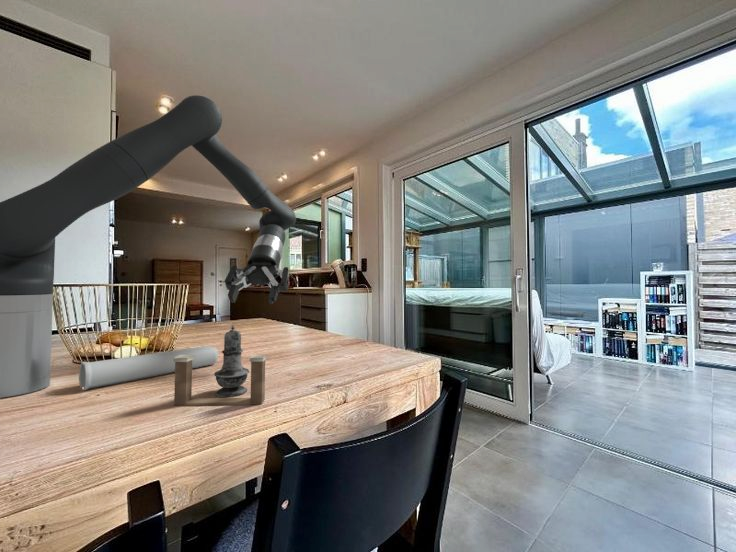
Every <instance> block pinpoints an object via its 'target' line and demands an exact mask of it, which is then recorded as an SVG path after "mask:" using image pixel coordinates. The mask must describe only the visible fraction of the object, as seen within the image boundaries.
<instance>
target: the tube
mask: <svg viewBox="0 0 736 552" xmlns="http://www.w3.org/2000/svg"><path fill="white" fill-rule="evenodd" d="M219 354H220V352H219V351H218V350H217V348H216V347H215V346H211V345H204V346H198V347H190V348H189V347H188V348H181V349H177V350H169V351H161V352H153V353H146V354H139V355H133V356H125V357H120V358H119V357H118V358H111V359H105V360H104V359H103V360H97V361H89V362H87V361H82V362H81V363H80V366H79V368H78V369H79V370H78V384H79V389H80V388H82V387H84V389H83V390H85V391H88V390H92V389H91V388H93V389H98V388H103V387H107V386H112V385H118V384H122V383H128V382H132V381H138V380H142V379H143V380H144V379H148V378H154V377H159V376H163V374H164V375H168V374H173V372H174V373H175V362H173V358H175V357H177V356H179V355H194V359H192V370H194V368H195V369H198V368H199V367H200V368H204V367H203V366H205V367H209V366H208V365H210V366H214V365H215V364H216V363H217V362H218V358H219V356H220V355H219ZM200 368H199V369H200ZM158 375H159V376H158ZM153 376H154V377H153ZM102 386H103V387H102ZM97 387H98V388H97ZM83 390H82V391H83Z"/></svg>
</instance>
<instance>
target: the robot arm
mask: <svg viewBox="0 0 736 552" xmlns="http://www.w3.org/2000/svg"><path fill="white" fill-rule="evenodd" d="M222 123H223V116H222V112H221V109H220V108H219V106H218V105H217V103H216V102H215V101H213V100H212V99H211V98H208V97H206V96H203V95H189V96H186V97H185V98H184V99H182V100H181V101H180V102H179V103H178V104H177V105H176V106H175V107H174V108H172V109H171V110H169V111H168V112H166V113H165V114H163V115H162V116H161V117H159V118H157V119H155V120H154V121H152V122H150V123H147V124H144V125H142V126H141V127H137V128H135V129H133V130H131V131H129V132H126V133H124V134H123V135H120V136H119V137H117V138H115V139H113V140H111V141H109V142H107V143H105V144H104V145H101V146H100V147H98V148H96V149H94V150H93V151H91V152H90V153H88V154H87V155H85V156H83V157H82V158H81V159H78V160H77V161H75V162H74V163H73V164H71V165H69V166H68V167H66V168H65V169H64V170H62V171H61V172H60V173H58V174H57V175H56V176H54V177H52V178H51V179H48V180H47V181H45V182H42V183H41V184H38V185H37V186H34V187H32V188H30V189H28V190H26V191H23V192H21V193H19V194H17V195H15V196H12V197H10V198H8V199H5V200H3V201H0V399H1V398H8V397H14V396H15V397H16V396H20V395H24V394H28V393H29V394H30V393H33V392H36V391H39V390H43V389H45V388H47V387H49V386H50V384H51V367H52V362H51V361H52V336H53V335H52V333H53V303H54V302H53V300H54V299H53V297H54V296H53V295H54V294H53V293H54V282H55V281H54V280H55V259H56V258H55V257H56V256H55V254H56V253H55V252H56V237H57V236H59V235H60V234H61V233H62V232H63V231H64V230H66V229H67V228H68V227H69V226H70V225H72V224H73V223H74V222H76V221H77V220H78V219H80V218H81V217H83V216H84V215H85V214H87V213H89V212H91V211H93V210H95V209H97V208H100V207H101V206H104V205H106V204H108V203H111V202H113V201H116V200H117V199H120V198H121V197H123V196H125V195H127V194H130V193H131V192H132V191H134V190H135V189H137V188H138V187H140V186H141V185H143V184H145V182H148V181H149V180H150V179H151V178H153V177H154V176H156V175H157V174H158V173H160V171H162V170H163V168H165V167H166V166H167V165H169V163H171V162H172V161H173V160H174V159H175V158H176V157H177V156H178V155H179V154H181V153H182V152H183V151H185V150H186V149H188V148H189V147H193V148H194V149H195V150H196V152H197V153H199V154H201V155H202V156H203V157H204V158H205V159H206V160H207V161H208V162H209V163H210V164H211V165H212V166H213V167H214V168H215V169H217V171H219V173H220V174H221V175H222V176H224V178H225V179H226V180H227V181H228V182H229V183H230V185H232V187H233V188H234V189H235V190H236V192H238V193H239V194H240V196H241V197H242V198H243V199H244V200H245V202H246V203H247V204H248V205H249V206H250V207H251V209H253V210H260V209H268V210H269V211H267V212H265V213H264V214H262V216H261V217H260V219H259V221H258V222H259V223H258V224H259V234H258V237H257V240H256V241H255V242H254V244H253V247H252V249H251V253H250V255H249V256H248V259H247V263H246V266H245V267H244V268H238V266H237V265H232V266H231V267H230V270H229V272H228V273H227V275H226V278H225V279H224V284H225V287H226V290H229V291H228V294H227V298H228V300H229V301H230V303H232V304H233V303H234V304H235V303H236V302H237V300H238V295H239V293H240V291H241V290H243V289H244V288H245V289H246V288H249V286H251V285H252V286H257V285H258V286H259V285H260V286H265V285H268V287H269V288H270V290H269V293H268V297H267V299H268V303H269V305H271V304H274V302H276V301H277V299H278V295H279V293H280V292H281V291H283V292H287V291H288V289H289V281H290V270H289V267H287V266H285V267H283V268H282V269H279V267H280V262H281V260H282V258H283V249H284V245H285V242H286V232H285V231H286V230H288V229H290V228H292V227H293V226H294V225H295V224H296V222H297V217H296V213H295V212H294V210H293V209H292V208H291V207H290V206H289V205H288V204H287V203H286V202H284V201H283V200H282V199H281V198H279V197H278V196H276V195H275V194H274V193H273V192H272V191H270V189H269V188H268V187H267V185H266V184H265V183H264V182H263V180H262V179H261V178H260V177H259V175H257V173H256V172H255V171H254V170H253V169H252V168H250V166H248V165H247V164H246V163H244V162H243V161H241V160H240V159H239V158H238V157H236V156H235V155H234V154H233V153H232V152H230V150H228V149H227V148H226V147H225V145H224V144H223V143H222V141H221V140H220V139H219V137H218V136H217V134H218V132H219V131H220V129H221V127H222ZM279 276H280V279H281V280H280V282H278V281H277V280H276V278H277V277H279Z"/></svg>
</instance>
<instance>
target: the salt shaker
mask: <svg viewBox="0 0 736 552" xmlns="http://www.w3.org/2000/svg"><path fill="white" fill-rule="evenodd" d="M223 338H224V339H223V341H224V343H223V345H224V346H223V350H222V351H221V353H222V354H223V362H222V366H221V368H220V369H219V370H216V371H215V372H214V374H213V376H214V377H215V380H216V382H217V384H218V385H219V386H220V387H221V388H219V389H218V390H216V391H215V396H217V397H218V398H235V397H237V396H241V395H244V394H246V393H247V392H248V388H247V387H245V386H243V384H245V382H246V380H247V379H248V374H249V373H250V370H249V368H246V367H245V368H244V367H243V364H242V352H244V350H243V349H242V334H241V332H240V331H238V330H236V327H235V325H231V329H230V330H229V331H227V332H226V333H225V334H224V337H223Z"/></svg>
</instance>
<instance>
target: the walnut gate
mask: <svg viewBox="0 0 736 552" xmlns="http://www.w3.org/2000/svg"><path fill="white" fill-rule="evenodd" d="M267 357H268V355H267V354H252V355H251V356H250V357H249V362H250V397H215V398H214V397H207V398H205V397H203V398H201V397H195V398H192V387H193V386H192V384H193V383H192V382H193V369H192V359H194V355H179V356H177V357H175V358H173V362H175V372H174V395H173V396H174V399H173V403H174V404H173V405H174V406H242V405H243V406H244V405H245V406H246V405H249V406H250V405H263V403H264V402H265V400H266V399H265V397H266V396H265V394H266V393H265V392H266V390H265V389H266V388H265V387H266V359H267Z"/></svg>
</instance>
